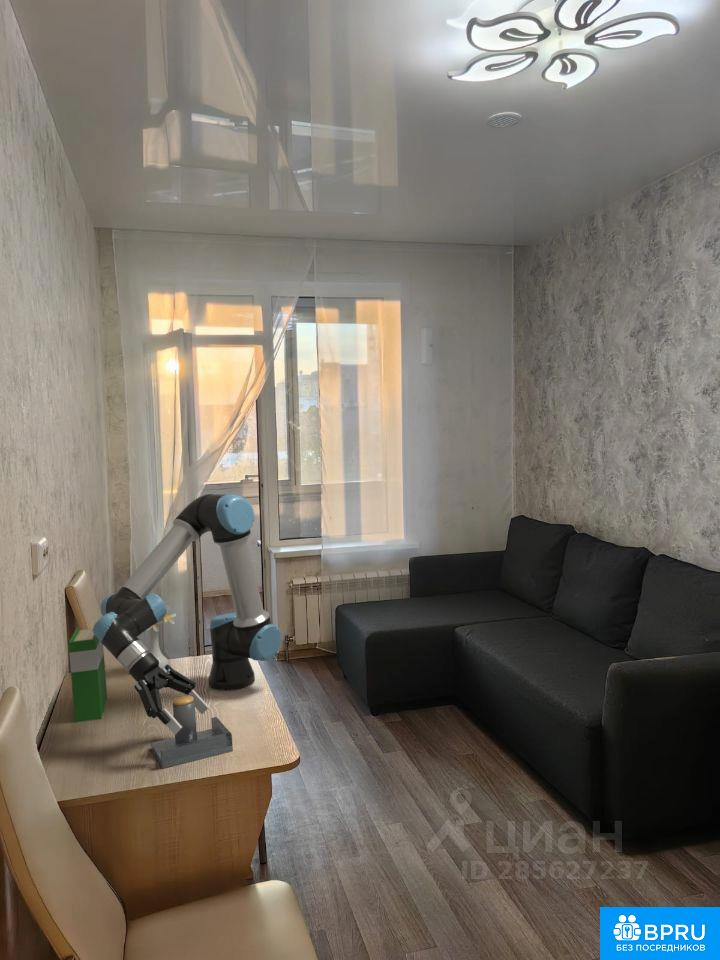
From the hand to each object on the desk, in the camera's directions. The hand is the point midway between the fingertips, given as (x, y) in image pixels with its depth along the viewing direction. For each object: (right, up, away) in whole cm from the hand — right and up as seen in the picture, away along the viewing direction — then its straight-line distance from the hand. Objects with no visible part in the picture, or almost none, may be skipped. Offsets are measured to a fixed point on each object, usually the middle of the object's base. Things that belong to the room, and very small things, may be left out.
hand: (192, 720), depth 192 cm
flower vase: (-28, -5, +66) cm, 72 cm away
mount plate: (0, -8, +1) cm, 8 cm away
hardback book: (-39, -8, +34) cm, 52 cm away
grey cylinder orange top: (-2, -6, +1) cm, 7 cm away
